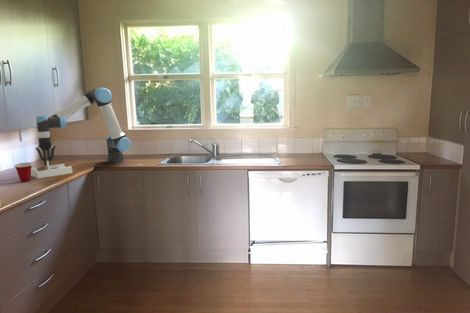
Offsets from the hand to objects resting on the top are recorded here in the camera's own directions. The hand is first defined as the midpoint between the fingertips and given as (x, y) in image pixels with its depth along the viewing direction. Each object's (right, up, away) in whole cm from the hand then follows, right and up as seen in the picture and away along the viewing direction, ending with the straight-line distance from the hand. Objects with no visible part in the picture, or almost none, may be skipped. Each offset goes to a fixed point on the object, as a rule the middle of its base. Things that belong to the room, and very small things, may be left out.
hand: (48, 169), depth 261 cm
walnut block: (-3, -2, -2) cm, 4 cm away
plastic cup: (-7, -8, -16) cm, 19 cm away
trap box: (0, -4, +5) cm, 6 cm away
